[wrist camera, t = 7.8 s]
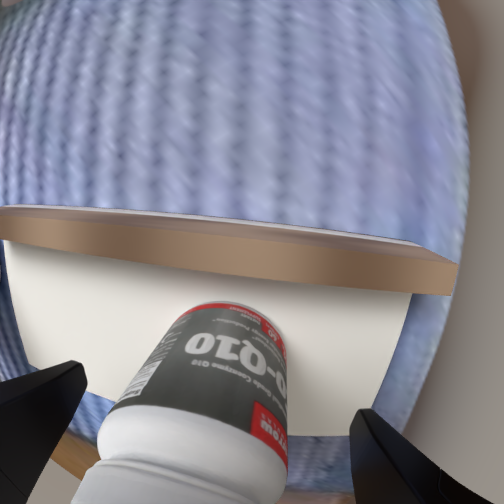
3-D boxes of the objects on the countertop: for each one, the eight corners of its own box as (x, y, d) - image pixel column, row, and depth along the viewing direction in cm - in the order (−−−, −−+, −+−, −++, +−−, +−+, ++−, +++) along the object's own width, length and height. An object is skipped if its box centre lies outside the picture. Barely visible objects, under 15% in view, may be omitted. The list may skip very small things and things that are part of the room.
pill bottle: (311, 344, 10) (341, 559, 2) (239, 408, 11) (207, 575, 3) (210, 271, 10) (68, 473, 2) (151, 351, 11) (48, 504, 3)
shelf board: (409, 241, 10) (458, 264, 7) (353, 420, 13) (365, 470, 9) (16, 203, 11) (-32, 212, 8) (39, 355, 14) (7, 382, 10)
